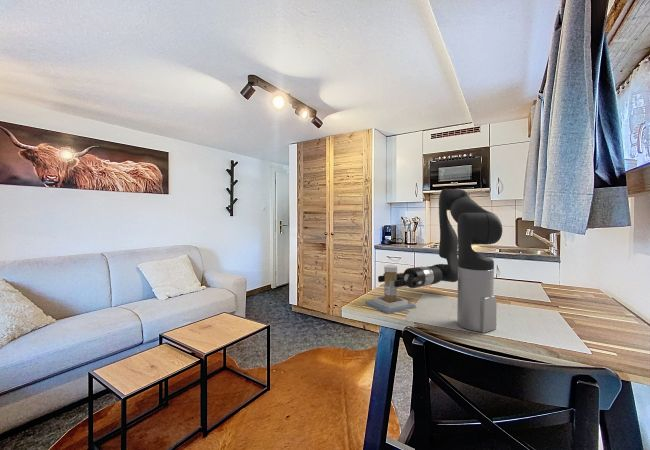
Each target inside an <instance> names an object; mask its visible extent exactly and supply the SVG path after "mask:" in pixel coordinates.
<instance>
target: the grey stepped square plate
mask: <svg viewBox="0 0 650 450" xmlns="http://www.w3.org/2000/svg"><path fill="white" fill-rule="evenodd" d="M396 301H397V302H392V303H388V302H386V301H384V295H380V296H374V297H373V298H372V300H371V299H370V300H366V301H365V305H367V306H368V307H371V308H374V309H376V310H378V311H380V312H381V313H382V312H383V313H384V314H386V315H389V314H393V313H399V312H403V311H407V310H412V309H416V308H417V306H416V305H417V304H414V303H412V302H409V301H408V300H407V299H405V298H402V297H399V296H397V295H396Z"/></svg>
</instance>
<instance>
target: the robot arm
mask: <svg viewBox="0 0 650 450" xmlns="http://www.w3.org/2000/svg"><path fill="white" fill-rule="evenodd" d="M448 211H450V212H449V213H450V215H451V217H452V219H453V220H454V222H455V223H457V229H456V231H457V233H456V231H455V228H454V227H453V226H452V224H451V222H450V219H449V217H448ZM438 219H439V221H438V222H439V246H438V247H439V250H438V255H439V257H440V258H441V259H445V260H446V263H447V264H445V263H438V264H433V265H430V266H416V267H409V268H406V269H405V270H404V272H397V280H396V281H394V287H397V288H401V287H404V288H407V287H408V288H409V289H416V288H421V287H427V286H428V285H429V286H430V285H436V284H438V283H441V282H449V283H456V282H457V304H456V305H457V306H456V307H457V308H456V309H457V312H456V313H457V314H456V316H457V317H456V322H457V325H458V326H459V327H462V328H464V329H466V330H468V331H474V332H479V333H482V334H484V333H488V332H491V331H494V330H496V329H497V309H498V308H497V304H498V303H497V302H498V301H497V300H498V297H497V295H494V284H495V281H494V279H495V261H494V259H493V258H491V257H489V256H487V255H483V254H481V253H479V252H476V251H475V250H474V249H473V248H472V247H473V246H472V245H484V246H485V245H486V246H487V245H493V244H496V243H498V242H499V241H500V240H501V238H502V236H503V224H502V222H501V219H500V218H499V216H498V215H497V214H496V213H494V212H491V211H488V210H486V209H485V208H483V207H482V206H480V204H478V203H477V202H475V200H473V199H472V198H471V197H470V196H469V194H468V192H467V191H466V190H464V189H454V188H453V189H452V188H443V189H441V191H440V193H439V197H438ZM377 282H378V283H385V272H384V273H383V274H382V275H378V277H377Z"/></svg>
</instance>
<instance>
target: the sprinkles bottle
mask: <svg viewBox="0 0 650 450" xmlns="http://www.w3.org/2000/svg"><path fill="white" fill-rule="evenodd" d="M383 272H384V273H385V282H383V283H384V287H383V288H384V293H383V294H384V295H383V296H384V301H386V302H388V303H392V302H397V301H396V296H397V295H398V294H397V293H398V287H394V281H396V280H397V273H398V266H397V265H392V264H388V265H385V266H384V267H383Z"/></svg>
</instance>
